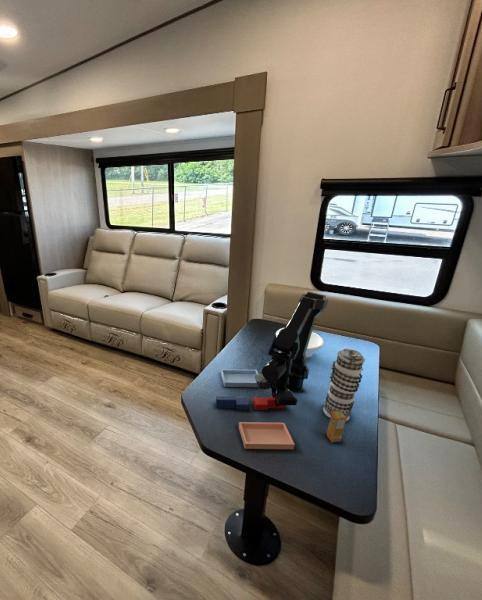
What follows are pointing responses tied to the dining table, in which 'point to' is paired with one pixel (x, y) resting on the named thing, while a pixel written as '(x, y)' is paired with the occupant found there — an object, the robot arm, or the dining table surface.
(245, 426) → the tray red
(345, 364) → the leaning tower model
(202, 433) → the dining table surface
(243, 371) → the tray blue
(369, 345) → the dining table surface
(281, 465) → the dining table surface
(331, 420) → the supplement box
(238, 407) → the dark blue block
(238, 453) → the dining table surface
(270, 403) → the red stepped block
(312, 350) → the bowl
